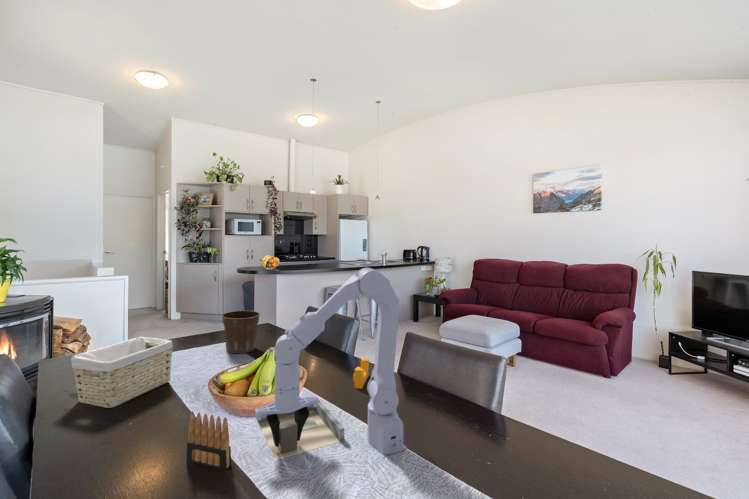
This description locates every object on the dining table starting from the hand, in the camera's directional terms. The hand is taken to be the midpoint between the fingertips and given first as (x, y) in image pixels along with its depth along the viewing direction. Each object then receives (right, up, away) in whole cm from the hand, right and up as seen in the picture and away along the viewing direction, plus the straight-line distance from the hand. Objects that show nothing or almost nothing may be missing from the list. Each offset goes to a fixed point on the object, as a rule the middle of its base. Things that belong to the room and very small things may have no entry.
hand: (286, 441), depth 89 cm
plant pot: (-39, +1, +76) cm, 86 cm away
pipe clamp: (+16, -1, +43) cm, 46 cm away
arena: (+1, -2, +8) cm, 9 cm away
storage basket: (-60, -1, +32) cm, 68 cm away
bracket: (-1, -2, +2) cm, 2 cm away
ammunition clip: (-16, -3, -6) cm, 17 cm away
